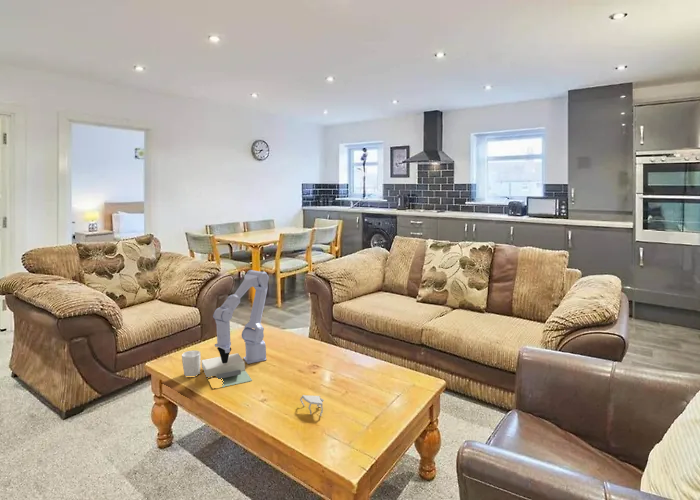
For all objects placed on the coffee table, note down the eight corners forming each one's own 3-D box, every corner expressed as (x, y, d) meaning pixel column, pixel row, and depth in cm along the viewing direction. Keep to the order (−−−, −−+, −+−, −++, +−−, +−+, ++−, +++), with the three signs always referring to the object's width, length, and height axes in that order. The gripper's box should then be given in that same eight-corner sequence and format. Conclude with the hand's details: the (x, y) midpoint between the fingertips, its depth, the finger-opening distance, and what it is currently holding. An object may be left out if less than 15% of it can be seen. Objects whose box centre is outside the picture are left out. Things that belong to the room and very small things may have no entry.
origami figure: (330, 407, 162) (330, 395, 161) (321, 418, 154) (321, 406, 153) (303, 401, 166) (303, 389, 165) (293, 411, 158) (292, 399, 158)
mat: (245, 371, 193) (245, 370, 193) (252, 380, 183) (252, 380, 183) (207, 379, 184) (207, 378, 184) (212, 389, 175) (212, 389, 175)
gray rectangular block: (240, 369, 184) (240, 374, 184) (237, 369, 189) (237, 374, 189) (219, 374, 180) (220, 378, 179) (216, 373, 185) (217, 378, 185)
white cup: (179, 376, 187) (177, 355, 186) (193, 369, 194) (191, 349, 193) (191, 380, 184) (190, 358, 182) (205, 373, 191) (204, 352, 189)
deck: (238, 360, 204) (237, 353, 203) (244, 370, 193) (244, 362, 193) (201, 368, 196) (201, 360, 195) (206, 378, 185) (206, 369, 185)
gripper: (211, 330, 192) (212, 358, 195) (217, 340, 180) (219, 370, 182) (226, 328, 196) (227, 355, 198) (234, 337, 183) (235, 367, 185)
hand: (224, 362), depth 190 cm, fingers closed
